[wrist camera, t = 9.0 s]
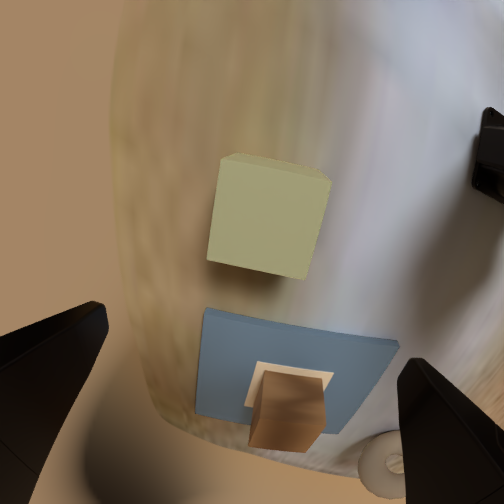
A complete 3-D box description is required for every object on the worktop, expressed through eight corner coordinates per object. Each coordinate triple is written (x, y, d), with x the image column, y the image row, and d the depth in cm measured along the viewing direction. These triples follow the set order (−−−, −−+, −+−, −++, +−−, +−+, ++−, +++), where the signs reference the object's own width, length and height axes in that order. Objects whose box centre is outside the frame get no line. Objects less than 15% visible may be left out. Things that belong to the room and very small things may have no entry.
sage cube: (318, 169, 17) (332, 182, 12) (299, 243, 19) (305, 280, 14) (237, 152, 17) (221, 158, 12) (225, 228, 19) (206, 259, 14)
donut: (428, 419, 26) (447, 481, 17) (418, 433, 27) (433, 491, 18) (357, 429, 27) (367, 501, 17) (350, 442, 28) (357, 509, 19)
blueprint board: (397, 340, 21) (400, 347, 20) (337, 428, 27) (338, 434, 26) (206, 307, 21) (203, 314, 20) (196, 407, 27) (194, 414, 26)
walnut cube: (322, 378, 22) (326, 425, 17) (304, 410, 24) (305, 452, 19) (264, 369, 22) (259, 418, 18) (253, 402, 24) (248, 446, 20)
